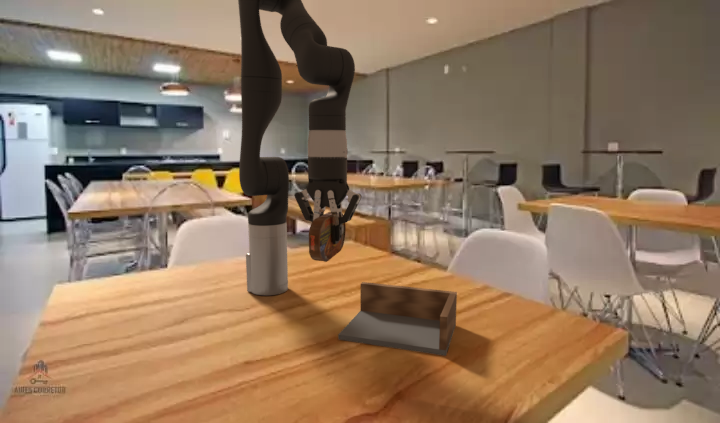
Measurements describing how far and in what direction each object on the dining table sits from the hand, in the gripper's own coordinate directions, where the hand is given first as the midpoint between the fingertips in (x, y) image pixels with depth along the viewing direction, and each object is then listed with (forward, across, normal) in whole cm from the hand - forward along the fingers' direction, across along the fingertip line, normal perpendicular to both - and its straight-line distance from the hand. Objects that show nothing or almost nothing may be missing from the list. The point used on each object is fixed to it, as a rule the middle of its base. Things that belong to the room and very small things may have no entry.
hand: (328, 242), depth 88 cm
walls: (+17, +15, 0) cm, 22 cm away
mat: (+17, +15, 0) cm, 22 cm away
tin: (+3, 0, 0) cm, 3 cm away
